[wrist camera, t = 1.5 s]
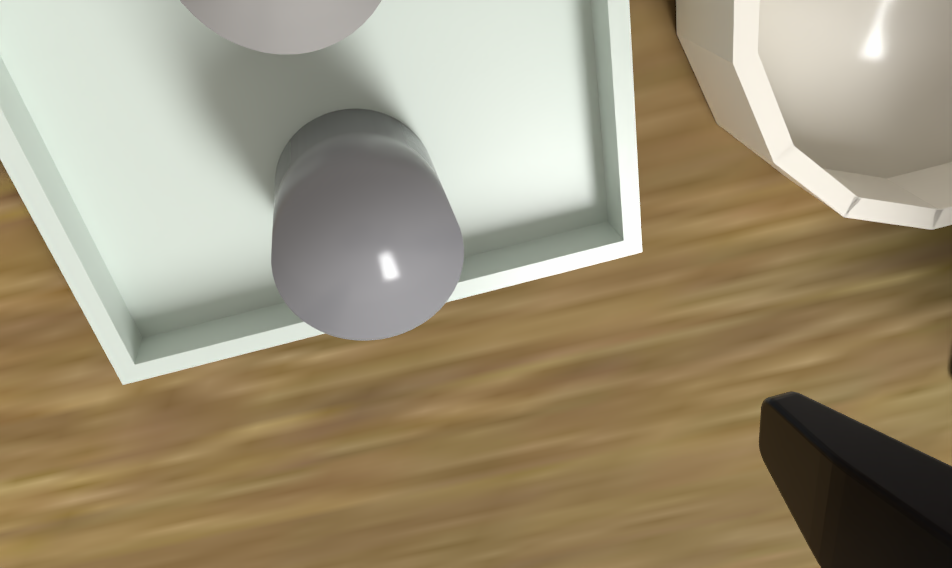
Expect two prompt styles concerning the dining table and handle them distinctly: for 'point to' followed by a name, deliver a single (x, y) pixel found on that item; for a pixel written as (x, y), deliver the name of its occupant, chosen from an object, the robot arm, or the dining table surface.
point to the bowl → (835, 96)
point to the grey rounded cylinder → (362, 227)
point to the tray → (268, 131)
